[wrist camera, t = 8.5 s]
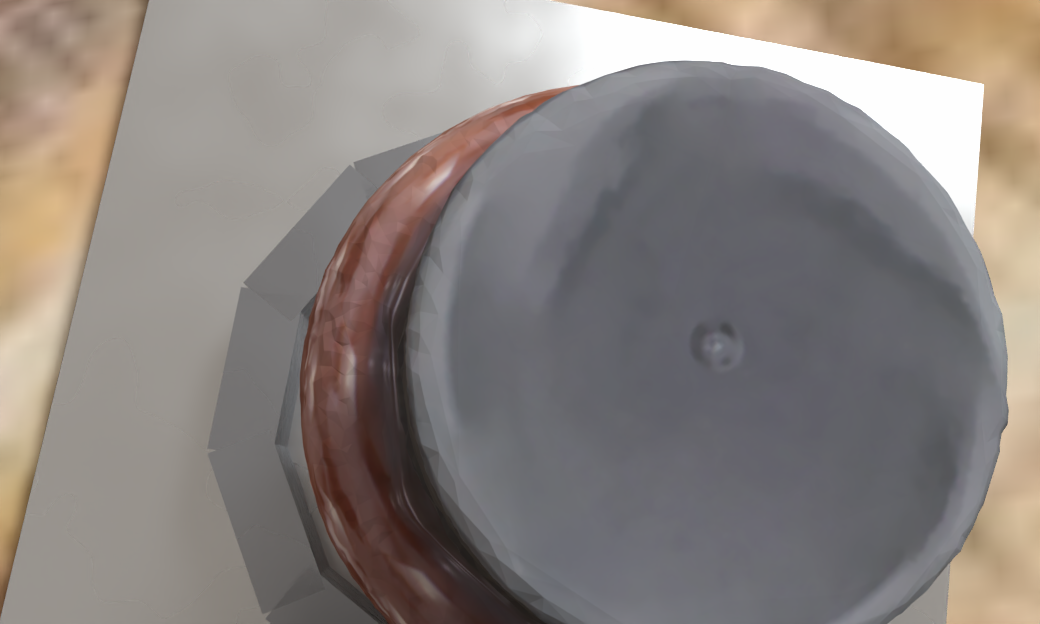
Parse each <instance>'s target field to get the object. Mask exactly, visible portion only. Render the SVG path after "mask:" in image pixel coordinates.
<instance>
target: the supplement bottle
mask: <svg viewBox="0 0 1040 624" xmlns="http://www.w3.org/2000/svg"><path fill="white" fill-rule="evenodd" d="M1007 360H1008V356H1007V348H1006V341H1005V333H1004V326H1003V318H1002V313H1001V311H1000V308H999V306H998V303H997V301H996V298H995V296H994V292H993V288H992V284H991V281H990V277H989V274H988V271H987V268H986V265H985V262H984V260H983V257H982V254H981V252H980V250H979V248H978V246H977V244H976V242H975V240H974V239H973V237H972V235H971V233H970V232H969V230H968V228H967V227H966V225H965V223H964V221H963V219H962V217H961V215H960V213H959V211H958V209H957V207H956V206H955V204H954V202H953V201H952V199H951V198H950V196H949V194H948V193H947V191H946V190H945V189H944V188H943V187H942V186H941V184H940V183H939V182H938V181H937V180H936V179H935V178H934V177H933V176H932V175H931V173H930V172H929V171H928V170H927V169H926V168H925V167H924V166H923V165H922V164H921V163H920V162H919V161H918V160H917V159H916V158H915V156H914V155H913V154H912V152H911V151H910V150H909V148H907V147H906V146H905V145H904V144H903V143H902V142H901V141H900V140H899V139H897V138H896V137H895V136H893V135H892V134H891V133H890V132H888V131H887V130H886V129H884V128H883V127H882V126H881V125H880V124H879V123H877V122H876V121H875V120H874V119H872V118H871V117H870V116H869V115H868V114H866V113H865V112H864V111H863V110H861V109H860V108H858V107H856V106H854V105H852V104H849V103H847V102H846V101H844V100H842V99H841V98H839V97H838V96H836V95H835V94H833V93H831V92H830V91H828V90H825V89H822V88H820V87H817V86H814V85H811V84H808V83H805V82H803V81H801V80H799V79H797V78H795V77H793V76H790V75H788V74H786V73H783V72H779V71H776V70H772V69H769V68H766V67H762V66H745V65H732V64H729V63H725V62H717V61H698V60H677V61H661V62H655V63H648V64H642V65H637V66H634V67H630V68H627V69H624V70H620V71H617V72H614V73H610V74H607V75H604V76H601V77H599V78H596V79H594V80H591V81H589V82H586V83H584V84H581V85H575V86H569V87H563V88H557V89H550V90H546V91H542V92H538V93H534V94H529V95H525V96H522V97H519V98H516V99H514V100H511V101H508V102H505V103H502V104H499V105H496V106H493V107H491V108H488V109H486V110H484V111H482V112H480V113H478V114H476V115H474V116H472V117H470V118H468V119H466V120H464V121H463V122H461V123H459V124H457V125H455V126H453V127H452V128H450V129H448V130H446V131H444V132H443V133H442V134H441V135H439V136H438V137H437V138H435V139H434V140H432V141H431V142H430V143H428V144H427V145H426V146H424V147H423V148H421V149H420V150H419V151H417V152H416V153H415V154H413V155H412V156H411V157H410V158H408V159H407V160H406V161H405V162H404V163H403V164H402V165H401V166H400V167H399V168H398V169H397V170H396V171H395V172H394V173H393V174H392V175H391V176H390V177H389V178H388V179H387V180H386V181H385V182H384V183H383V184H382V185H381V186H380V188H379V189H378V190H377V191H376V192H375V193H374V194H373V195H372V196H371V197H370V198H369V199H368V200H367V202H366V203H365V204H364V206H363V207H362V209H361V210H360V211H359V213H358V214H357V216H356V217H355V219H354V220H353V222H352V223H351V225H350V227H349V228H348V230H347V232H346V233H345V235H344V237H343V238H342V240H341V241H340V243H339V245H338V247H337V249H336V251H335V254H334V256H333V258H332V259H331V261H330V263H329V264H328V266H327V268H326V269H325V272H324V275H323V278H322V281H321V284H320V287H319V289H318V292H317V294H316V298H315V302H314V305H313V308H312V311H311V314H310V316H309V324H308V330H307V334H306V337H305V340H304V346H303V354H302V361H301V369H300V404H301V429H302V440H303V448H304V454H305V459H306V463H307V467H308V471H309V477H310V482H311V485H312V488H313V492H314V495H315V499H316V503H317V506H318V510H319V513H320V515H321V517H322V520H323V522H324V525H325V528H326V531H327V533H328V536H329V538H330V540H331V542H332V544H333V545H334V547H335V549H336V551H337V553H338V555H339V557H340V558H341V560H342V561H343V562H344V564H345V565H346V567H347V569H348V571H349V573H350V575H351V576H352V578H353V579H354V580H355V581H356V582H357V584H358V585H359V586H360V588H361V589H362V590H363V592H364V593H365V595H366V597H368V598H369V600H370V601H371V603H372V604H373V605H374V607H375V608H376V609H377V610H378V611H379V612H380V613H381V614H382V615H383V616H384V618H385V619H386V621H387V623H388V624H888V623H889V622H890V621H891V620H893V619H894V618H895V617H896V616H898V615H900V614H902V613H903V612H904V611H905V610H906V609H907V608H908V607H909V606H910V605H911V604H912V603H913V602H914V601H916V600H917V599H918V598H919V597H920V596H921V595H923V594H924V593H925V592H926V591H927V590H928V589H929V587H930V586H931V585H932V584H933V582H934V581H935V580H936V579H937V577H938V576H939V575H940V574H941V572H942V571H943V570H944V569H945V568H946V567H947V565H948V564H949V563H950V562H951V561H952V560H953V558H954V557H955V556H956V555H957V554H958V553H959V552H960V551H961V549H962V547H963V544H964V542H965V540H966V538H967V537H968V535H969V533H970V531H971V530H972V528H973V526H974V523H975V521H976V518H977V516H978V513H979V511H980V509H981V508H982V506H983V504H984V501H985V497H986V494H987V491H988V488H989V484H990V481H991V478H992V475H993V472H994V468H995V465H996V462H997V459H998V456H999V452H1000V439H1001V433H1002V432H1003V430H1004V429H1005V427H1006V426H1007V423H1008V411H1009V410H1008V404H1007V398H1006V389H1007Z"/></svg>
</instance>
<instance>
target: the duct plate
mask: <svg viewBox="0 0 1040 624" xmlns="http://www.w3.org/2000/svg"><path fill="white" fill-rule="evenodd" d="M677 60H698V61H717V62H725V63H729V64H732V65H745V66H762V67H766V68H769V69H772V70H776V71H779V72H783V73H786V74H788V75H790V76H793V77H795V78H797V79H799V80H801V81H803V82H805V83H808V84H811V85H814V86H817V87H820V88H822V89H825V90H828V91H830V92H831V93H833V94H835V95H836V96H838V97H839V98H841V99H842V100H844V101H846V102H847V103H849V104H852V105H854V106H856V107H858V108H860V109H861V110H863V111H864V112H865V113H866V114H868V115H869V116H870V117H871V118H872V119H874V120H875V121H876V122H877V123H879V124H880V125H881V126H882V127H883V128H884V129H886V130H887V131H888V132H890V133H891V134H892V135H893V136H895V137H896V138H897V139H899V140H900V141H901V142H902V143H903V144H904V145H905V146H906V147H907V148H909V150H910V151H911V152H912V154H913V155H914V156H915V158H916V159H917V160H918V161H919V162H920V163H921V164H922V165H923V166H924V167H925V168H926V169H927V170H928V171H929V172H930V173H931V175H932V176H933V177H934V178H935V179H936V180H937V181H938V182H939V183H940V184H941V186H942V187H943V188H944V189H945V190H946V191H947V193H948V194H949V196H950V198H951V199H952V201H953V202H954V204H955V206H956V207H957V209H958V211H959V213H960V215H961V217H962V219H963V221H964V223H965V225H966V227H967V228H968V230H969V232H970V233H971V235H972V237H973V233H974V218H975V204H976V190H977V176H978V162H979V147H980V133H981V119H982V105H983V90H984V84H979V83H974V82H969V81H964V80H959V79H954V78H948V77H943V76H938V75H933V74H928V73H923V72H917V71H912V70H907V69H902V68H897V67H891V66H886V65H881V64H876V63H871V62H866V61H860V60H855V59H850V58H845V57H840V56H835V55H829V54H824V53H819V52H814V51H809V50H804V49H798V48H793V47H788V46H783V45H778V44H773V43H767V42H762V41H757V40H752V39H747V38H741V37H736V36H731V35H726V34H721V33H716V32H710V31H705V30H700V29H695V28H690V27H685V26H679V25H674V24H669V23H664V22H659V21H654V20H648V19H643V18H638V17H633V16H628V15H623V14H617V13H612V12H607V11H602V10H597V9H591V8H586V7H581V6H576V5H571V4H566V3H560V2H555V1H550V0H149V3H148V7H147V11H146V15H145V19H144V24H143V28H142V32H141V36H140V40H139V44H138V49H137V53H136V57H135V61H134V65H133V69H132V73H131V78H130V82H129V86H128V90H127V94H126V98H125V102H124V107H123V111H122V115H121V119H120V123H119V127H118V132H117V136H116V140H115V144H114V148H113V152H112V156H111V161H110V165H109V169H108V173H107V177H106V181H105V186H104V190H103V194H102V198H101V202H100V206H99V210H98V215H97V219H96V223H95V227H94V231H93V235H92V240H91V244H90V248H89V252H88V256H87V260H86V264H85V269H84V273H83V277H82V281H81V285H80V289H79V293H78V298H77V302H76V306H75V310H74V314H73V318H72V323H71V327H70V331H69V335H68V339H67V343H66V347H65V352H64V356H63V360H62V364H61V368H60V372H59V377H58V381H57V385H56V389H55V393H54V397H53V401H52V406H51V410H50V414H49V418H48V422H47V426H46V431H45V435H44V439H43V443H42V447H41V451H40V455H39V460H38V464H37V468H36V472H35V476H34V480H33V485H32V489H31V493H30V497H29V501H28V505H27V509H26V514H25V518H24V522H23V526H22V530H21V534H20V538H19V543H18V547H17V551H16V555H15V559H14V563H13V568H12V572H11V576H10V580H9V584H8V588H7V592H6V597H5V601H4V605H3V609H2V613H1V617H0V624H388V623H387V621H386V619H385V618H384V616H383V615H382V614H381V613H380V612H379V611H378V610H377V609H376V608H375V607H374V605H373V604H372V603H371V601H370V600H369V598H368V597H366V595H365V593H364V592H363V590H362V589H361V588H360V586H359V585H358V584H357V582H356V581H355V580H354V579H353V578H352V576H351V575H350V573H349V571H348V569H347V567H346V565H345V564H344V562H343V561H342V560H341V558H340V557H339V555H338V553H337V551H336V549H335V547H334V545H333V544H332V542H331V540H330V538H329V536H328V533H327V531H326V528H325V525H324V522H323V520H322V517H321V515H320V513H319V510H318V506H317V503H316V499H315V495H314V492H313V488H312V485H311V482H310V477H309V471H308V467H307V463H306V459H305V454H304V448H303V440H302V429H301V404H300V369H301V361H302V354H303V346H304V340H305V337H306V334H307V330H308V324H309V316H310V314H311V311H312V308H313V305H314V302H315V298H316V294H317V292H318V289H319V287H320V284H321V281H322V278H323V275H324V272H325V269H326V268H327V266H328V264H329V263H330V261H331V259H332V258H333V256H334V254H335V251H336V249H337V247H338V245H339V243H340V241H341V240H342V238H343V237H344V235H345V233H346V232H347V230H348V228H349V227H350V225H351V223H352V222H353V220H354V219H355V217H356V216H357V214H358V213H359V211H360V210H361V209H362V207H363V206H364V204H365V203H366V202H367V200H368V199H369V198H370V197H371V196H372V195H373V194H374V193H375V192H376V191H377V190H378V189H379V188H380V186H381V185H382V184H383V183H384V182H385V181H386V180H387V179H388V178H389V177H390V176H391V175H392V174H393V173H394V172H395V171H396V170H397V169H398V168H399V167H400V166H401V165H402V164H403V163H404V162H405V161H406V160H407V159H408V158H410V157H411V156H412V155H413V154H415V153H416V152H417V151H419V150H420V149H421V148H423V147H424V146H426V145H427V144H428V143H430V142H431V141H432V140H434V139H435V138H437V137H438V136H439V135H441V134H442V133H443V132H444V131H446V130H448V129H450V128H452V127H453V126H455V125H457V124H459V123H461V122H463V121H464V120H466V119H468V118H470V117H472V116H474V115H476V114H478V113H480V112H482V111H484V110H486V109H488V108H491V107H493V106H496V105H499V104H502V103H505V102H508V101H511V100H514V99H516V98H519V97H522V96H525V95H529V94H534V93H538V92H542V91H546V90H550V89H557V88H563V87H569V86H575V85H581V84H584V83H586V82H589V81H591V80H594V79H596V78H599V77H601V76H604V75H607V74H610V73H614V72H617V71H620V70H624V69H627V68H630V67H634V66H637V65H642V64H648V63H655V62H661V61H677ZM949 574H950V563H949V564H948V565H947V567H946V568H945V569H944V570H943V571H942V572H941V574H940V575H939V576H938V577H937V579H936V580H935V581H934V582H933V584H932V585H931V586H930V587H929V589H928V590H927V591H926V592H925V593H924V594H923V595H921V596H920V597H919V598H918V599H917V600H916V601H914V602H913V603H912V604H911V605H910V606H909V607H908V608H907V609H906V610H905V611H904V612H903V613H902V614H900V615H898V616H896V617H895V618H894V619H893V620H891V621H890V622H889V623H888V624H946V616H947V602H948V588H949Z"/></svg>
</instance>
